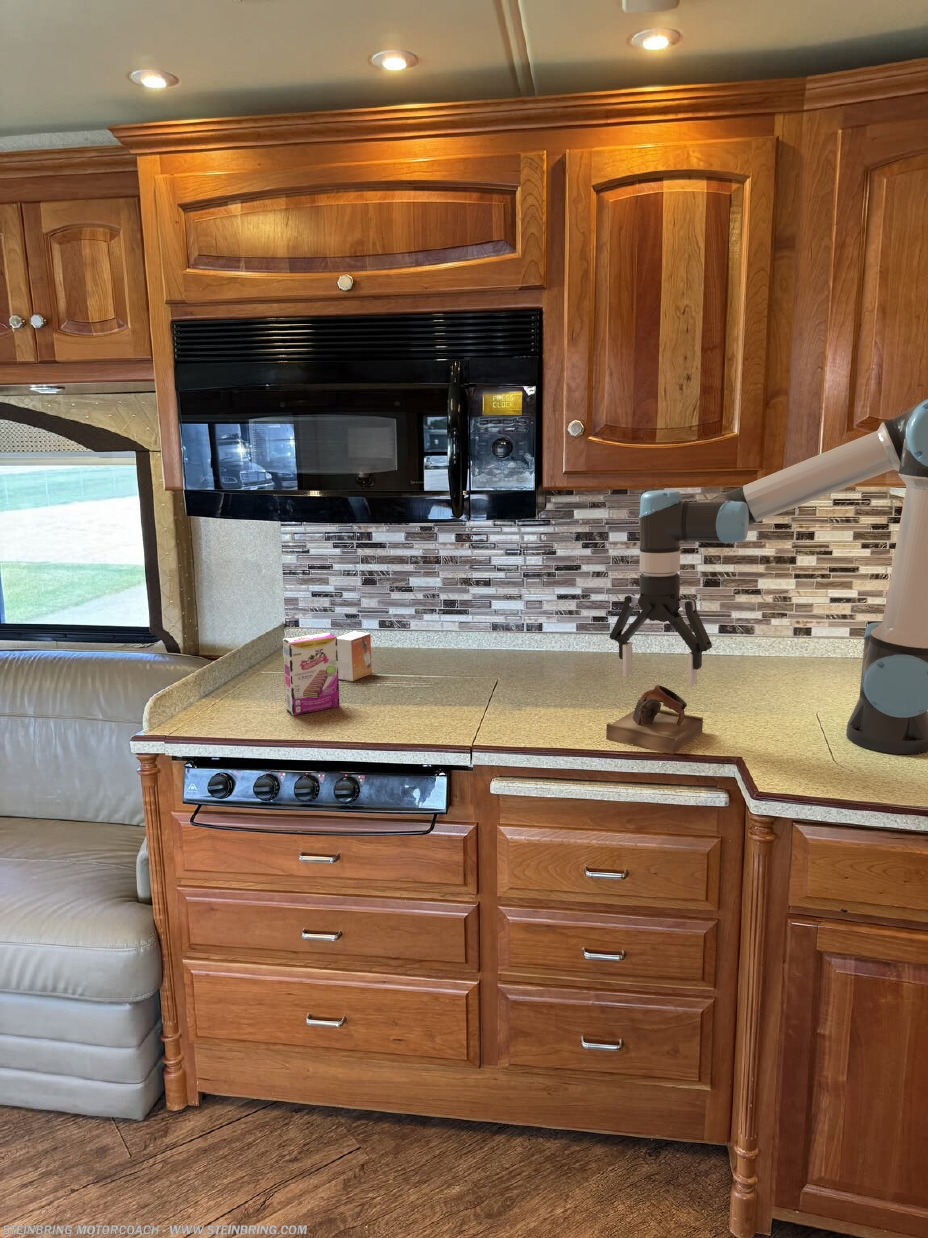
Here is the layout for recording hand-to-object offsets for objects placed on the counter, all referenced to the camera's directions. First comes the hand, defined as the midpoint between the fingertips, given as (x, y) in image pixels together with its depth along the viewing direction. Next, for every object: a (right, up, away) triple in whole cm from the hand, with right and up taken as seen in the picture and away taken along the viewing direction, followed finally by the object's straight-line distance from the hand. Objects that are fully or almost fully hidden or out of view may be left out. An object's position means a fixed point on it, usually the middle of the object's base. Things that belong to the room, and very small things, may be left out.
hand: (659, 680), depth 171 cm
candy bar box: (-71, -8, +23) cm, 76 cm away
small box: (-65, -2, +47) cm, 81 cm away
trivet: (0, -11, +3) cm, 12 cm away
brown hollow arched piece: (0, -9, +3) cm, 9 cm away
